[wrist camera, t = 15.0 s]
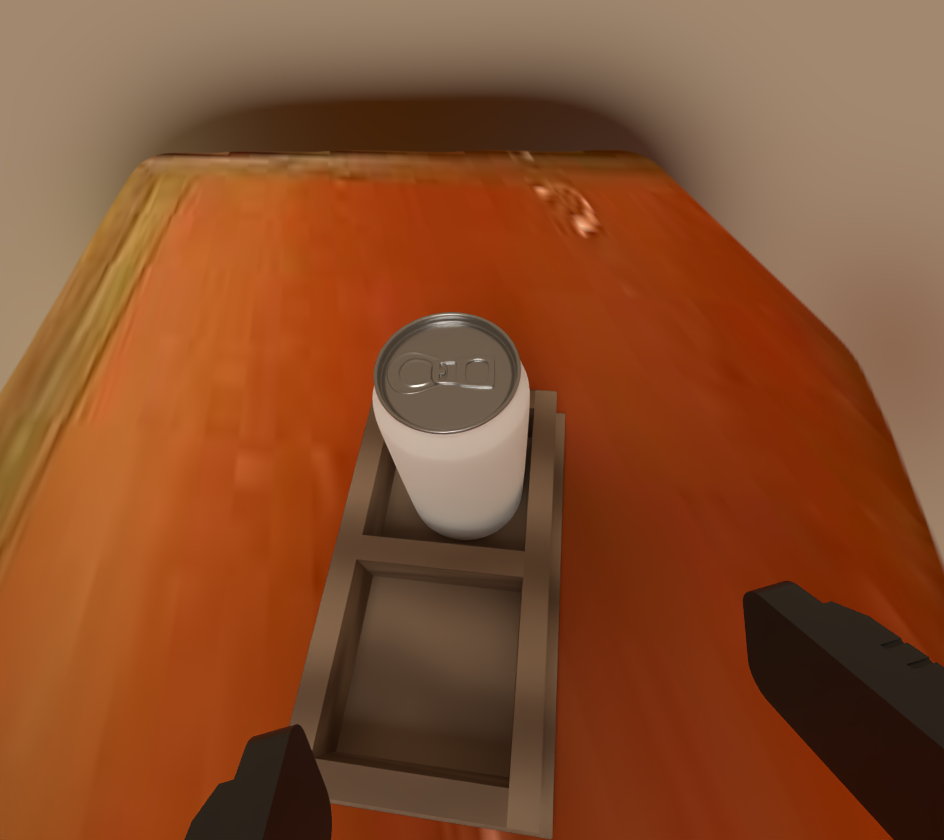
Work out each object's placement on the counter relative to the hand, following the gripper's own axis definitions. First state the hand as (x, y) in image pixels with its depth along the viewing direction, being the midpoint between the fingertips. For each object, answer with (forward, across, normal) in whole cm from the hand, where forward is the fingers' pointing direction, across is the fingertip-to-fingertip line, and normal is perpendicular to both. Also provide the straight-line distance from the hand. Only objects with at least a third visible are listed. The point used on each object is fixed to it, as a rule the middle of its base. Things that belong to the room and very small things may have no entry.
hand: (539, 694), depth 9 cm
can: (+20, 0, -4) cm, 21 cm away
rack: (+18, -2, -8) cm, 20 cm away
